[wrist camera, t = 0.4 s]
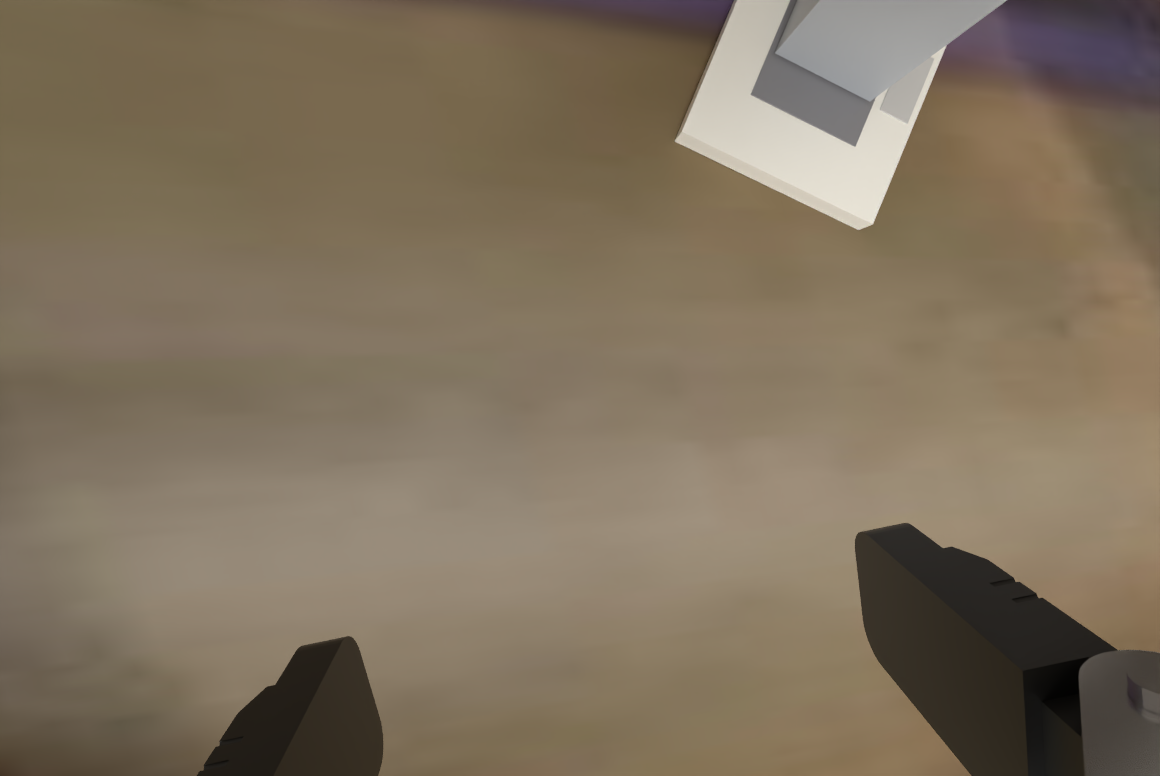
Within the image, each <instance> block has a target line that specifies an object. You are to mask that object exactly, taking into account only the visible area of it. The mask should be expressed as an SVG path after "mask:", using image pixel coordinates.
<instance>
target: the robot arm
mask: <svg viewBox="0 0 1160 776" xmlns="http://www.w3.org/2000/svg"><path fill="white" fill-rule="evenodd" d="M855 552H856V561H857V570H858V579H859V588H860V597H861V606H862V615H863V622H864V628H865V631H866V635H867V638H868V641H869V643H870V646H871V648H872V650H873V652H874V654H875V656H876V658H877V660H878V661H879V663H880V664H881V665H882V666H883V668H884V669H885V670H886V671H887V673H888V674H889V675H890V676H891V677H892V679H893V680H894V681H895V682H896V684H897V685H898V686H899V687H900V689H901V690H902V691H903V692H904V693H905V695H906V696H907V697H908V698H909V700H910V701H911V702H912V703H913V704H914V706H915V707H916V708H917V709H918V711H919V712H920V713H921V714H922V715H923V717H924V718H925V719H926V720H927V722H928V723H929V724H930V725H931V726H932V728H933V729H934V730H935V731H936V733H937V734H938V735H939V736H940V737H941V739H942V740H943V741H944V742H945V744H946V745H947V746H948V747H949V748H950V750H951V751H952V752H953V753H954V755H955V756H956V757H957V758H958V759H959V761H960V762H961V763H962V764H963V766H964V767H965V768H966V769H967V770H968V772H969V773H970V774H971V775H972V776H1160V653H1157V652H1150V651H1141V650H1117V649H1115V648H1114V647H1113V646H1111V645H1110V644H1108V643H1107V642H1105V641H1104V640H1102V639H1101V638H1100V637H1098V636H1097V635H1095V634H1094V633H1092V632H1091V631H1090V630H1088V629H1087V628H1085V627H1084V626H1082V625H1081V624H1079V623H1078V622H1077V621H1075V620H1074V619H1072V618H1071V617H1069V616H1068V615H1067V614H1065V613H1064V612H1062V611H1061V610H1059V609H1058V608H1056V607H1055V606H1054V605H1052V604H1051V603H1049V602H1048V601H1046V600H1045V599H1043V598H1038V597H1037V594H1036V593H1035V592H1033V591H1032V590H1031V589H1029V588H1028V587H1026V586H1025V585H1023V584H1022V583H1020V582H1015V580H1014V578H1013V577H1012V576H1010V575H1009V574H1008V573H1006V572H1005V571H1003V570H1002V569H1000V568H999V567H997V566H996V565H995V564H993V563H992V562H990V561H989V560H987V559H985V558H982V557H979V556H976V555H973V554H971V553H968V552H965V551H962V550H960V549H957V548H954V547H948V548H942V547H940V546H939V545H938V544H936V543H935V542H934V541H932V540H931V539H930V538H928V537H927V536H926V535H924V534H923V533H922V532H920V531H919V530H918V529H916V528H915V527H914V526H912V525H910V524H908V523H902V524H897V525H892V526H888V527H883V528H878V529H873V530H868V531H863V532H859V533H858V534H857V536H856V539H855ZM382 757H383V733H382V726H381V721H380V717H379V714H378V710H377V707H376V704H375V700H374V697H373V694H372V690H371V687H370V684H369V680H368V677H367V673H366V670H365V667H364V663H363V660H362V657H361V653H360V650H359V647H358V645H357V643H356V641H355V640H354V639H353V638H352V637H350V636H347V637H342V638H338V639H333V640H328V641H323V642H318V643H313V644H308V645H304V646H301V647H299V648H298V649H297V651H296V652H295V654H294V655H293V657H292V659H291V660H290V662H289V663H288V665H287V667H286V668H285V670H284V672H283V673H282V675H281V676H280V678H279V680H278V681H277V683H276V685H273V686H268V687H266V688H265V689H264V690H263V691H262V692H261V693H260V694H259V695H257V696H256V697H255V698H254V699H253V700H252V701H251V702H250V703H249V704H248V705H246V706H245V707H244V708H243V709H242V710H241V711H240V712H239V713H238V714H237V715H236V717H235V718H234V720H233V721H232V723H231V724H230V726H229V728H228V729H227V731H226V732H225V734H224V735H223V737H222V738H221V740H220V746H218V747H215V749H214V750H213V752H212V753H211V755H210V756H209V758H208V759H207V761H206V762H205V764H204V771H200V772H199V773H198V775H197V776H378V774H379V771H380V767H381V763H382Z"/></svg>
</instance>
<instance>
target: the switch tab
mask: <svg viewBox="0 0 1160 776" xmlns="http://www.w3.org/2000/svg"><path fill="white" fill-rule="evenodd" d="M1005 1H1007V0H797V2H796V4H795V6H794V9H793V11H792V14H791V16H790V18H789V21H788V23H787V25H786V28H785V30H784V33H783V35H782V37H781V40H780V42H779V45H778V47H777V49H776V52H775V54H777V55H779V56H781V57H783V58H785V59H787V60H789V61H791V62H793V63H795V64H797V65H799V66H801V67H803V68H805V69H807V70H809V71H811V72H813V73H815V74H817V75H819V76H821V77H823V78H824V79H826V80H828V81H830V82H832V83H834V84H836V85H838V86H840V87H842V88H844V89H846V90H848V91H850V92H852V93H854V94H856V95H858V96H860V97H862V98H864V99H866V100H868V101H871V100H873V99H874V98H876V97H877V96H878V95H880V94H881V93H882V92H884V91H885V90H886V89H888V88H889V87H890V86H892V85H893V84H894V83H896V82H897V81H898V80H900V79H901V78H903V77H904V76H905V75H907V74H908V73H909V72H911V71H912V70H913V69H915V68H916V67H917V66H919V65H920V64H921V63H923V62H924V61H926V60H927V59H928V58H930V57H931V56H932V55H934V54H935V53H936V52H938V51H939V50H940V49H942V48H943V47H944V46H946V45H947V44H948V43H950V42H951V41H953V40H954V39H955V38H957V37H958V36H959V35H961V34H962V33H963V32H965V31H966V30H967V29H969V28H970V27H971V26H973V25H974V24H976V23H977V22H978V21H980V20H981V19H982V18H984V17H985V16H986V15H988V14H989V13H990V12H992V11H993V10H994V9H996V8H997V7H998V6H1000V5H1001V4H1003V3H1004V2H1005Z"/></svg>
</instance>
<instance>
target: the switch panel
mask: <svg viewBox="0 0 1160 776" xmlns="http://www.w3.org/2000/svg"><path fill="white" fill-rule="evenodd" d="M796 2H797V0H734V1H733V4H732V6H731V9H730V11H729V13H728V16H727V18H726V20H725V23H724V25H723V28H722V30H721V32H720V35H719V37H718V39H717V42H716V44H715V46H714V49H713V51H712V54H711V56H710V58H709V61H708V63H707V65H706V68H705V70H704V73H703V75H702V77H701V80H700V82H699V84H698V87H697V89H696V91H695V94H694V96H693V99H692V101H691V103H690V106H689V108H688V110H687V113H686V115H685V118H684V120H683V122H682V125H681V127H680V129H679V132H678V134H677V136H676V139H675V142H677V143H679V144H681V145H683V146H685V147H687V148H689V149H691V150H693V151H695V152H698V153H700V154H702V155H704V156H706V157H708V158H710V159H712V160H714V161H716V162H718V163H720V164H722V165H725V166H727V167H729V168H731V169H733V170H735V171H737V172H739V173H741V174H743V175H745V176H747V177H749V178H751V179H754V180H756V181H758V182H760V183H762V184H764V185H766V186H768V187H770V188H772V189H774V190H776V191H778V192H781V193H783V194H785V195H787V196H789V197H791V198H793V199H795V200H797V201H799V202H801V203H803V204H805V205H808V206H810V207H812V208H814V209H816V210H818V211H820V212H822V213H824V214H826V215H828V216H830V217H832V218H834V219H837V220H839V221H841V222H843V223H845V224H847V225H849V226H851V227H853V228H855V229H857V230H860V229H862V228H865V227H867V226H870V225H872V224H873V223H874V220H875V218H876V215H877V213H878V210H879V208H880V206H881V203H882V201H883V198H884V196H885V193H886V191H887V189H888V186H889V184H890V181H891V179H892V176H893V174H894V172H895V169H896V167H897V164H898V162H899V159H900V157H901V155H902V152H903V150H904V147H905V145H906V142H907V140H908V138H909V135H910V133H911V130H912V128H913V125H914V123H915V121H916V118H917V116H918V113H919V111H920V108H921V106H922V104H923V101H924V99H925V96H926V94H927V91H928V89H929V87H930V84H931V82H932V79H933V77H934V74H935V72H936V70H937V67H938V65H939V62H940V60H941V57H942V55H943V53H944V50H945V48H946V46H944V47H943V48H942V49H940V50H939V51H938V52H936V53H935V54H934V55H932V56H931V57H930V58H928V59H927V60H926V61H924V62H923V63H921V64H920V65H919V66H917V67H916V68H915V69H913V70H912V71H911V72H909V73H908V74H907V75H905V76H904V77H903V78H901V79H900V80H898V81H897V82H896V83H894V84H893V85H892V86H890V87H889V88H888V89H886V90H885V91H884V92H882V93H881V94H880V95H878V96H877V97H876V98H874V99H873V100H871V101H868V100H866V99H864V98H862V97H860V96H858V95H856V94H854V93H852V92H850V91H848V90H846V89H844V88H842V87H840V86H838V85H836V84H834V83H832V82H830V81H828V80H826V79H824V78H823V77H821V76H819V75H817V74H815V73H813V72H811V71H809V70H807V69H805V68H803V67H801V66H799V65H797V64H795V63H793V62H791V61H789V60H787V59H785V58H783V57H781V56H779V55H777V54H775V52H776V49H777V47H778V45H779V42H780V40H781V37H782V35H783V33H784V30H785V28H786V25H787V23H788V21H789V18H790V16H791V14H792V11H793V9H794V6H795V4H796Z"/></svg>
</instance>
